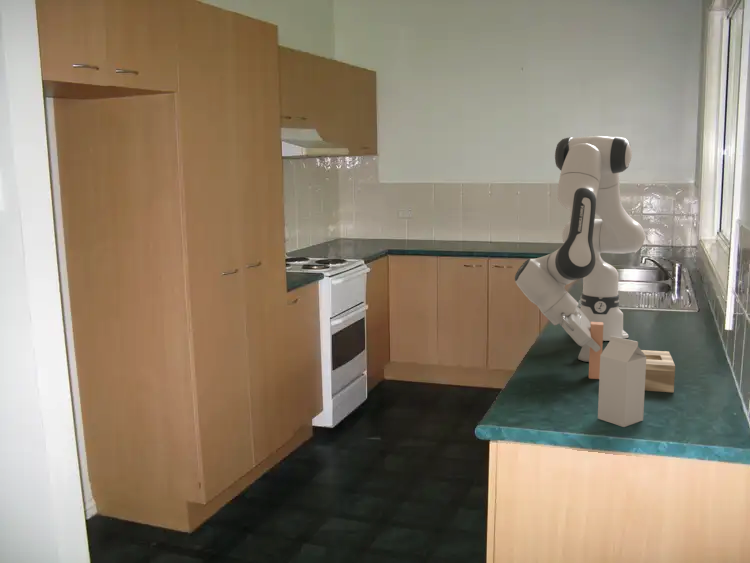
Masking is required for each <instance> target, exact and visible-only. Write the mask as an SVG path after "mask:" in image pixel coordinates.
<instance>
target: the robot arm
mask: <svg viewBox="0 0 750 563" xmlns="http://www.w3.org/2000/svg"><path fill="white" fill-rule="evenodd" d="M632 157H633V150H632V147H631V143H630V142H629V141H628V139H627V138H625V137H621V136H604V135H592V136H579V137H572V136H571V137H565V138H562V139H561V140H559V142H558V143H557V144H556V147H555V150H554V159H555V160H554V161H555V166H556V167H557V168H558V169H559V171H560V175H559V179H558V184H557V200H558V202H559V203H560V205H561V206H562V207H563V208H565V209H567V210H569V211H570V217H569V221H568V222H567V223H566V224H565V225H564V226H563V229H562V233H561V237H562V242H563V243H562V245H561V246H560V247H559V248H558V249H557V250H554V251H553V252H551V253H549V254H547V255H543V256H541V257H540V256H539V257H537V258H536V257H535V258H528V259H526V260H525V261H524V262H523V263H522V264H521V265H520V267H519V268H518V269H517V271H516V272H515V275H514V281H515V284H516V285H517V287H518V288H519V290H520V291H521V292H522V293H523V294H524V296H525V297H526V298H527V299H528V300H529V301H530V302H531V303H532V304H534V305H536V307H538V309H539V310H540V312H541V313H542V315H543V316H545V318H546V319H547V320H549V321H550V322H551V324H552V325H553V326H558V325H560V327H562V328H563V330H564V331H565V332H566V334H567V335H569V336H570V338H571V339H572V340H573V341H574V342H575V343H576V345H578V346H580V347H581V348H582V347H583V345H585V344H587V345H588V346H589V347H591V348H592V349H593V350H594V351H595V352H597V351H599V350H600V345H599V344H598V343H597V342H595V341H594V340H593V339H592V337H591V330H590V326H591V322H603V342H604V341H605V342H607V341H609V342H610V336H614V337H619V338H623V339H628V338H629V334H628V333H627V332H626V331H625V330H624V312H622V310H621V309H620V308H619V306H620V295H619V277H620V276H619V275H620V274H619V272H618V270H617V269H616V267H615V266H613V265H611V264H610V263H608V262H606V261H604V259H603V258H602V257H601V254H630V253H636V252H638V251H639V250H640V249H641V248H642V247H643V245H644V243H645V238H646V235H645V234H646V233H645V230H644V228H643V226H642V225H641V224H640V222H638V221H636V220H635V219H634V218H633V217H631V215H629V214H628V212H627V211H626V210H625V208H624V206H623V203H622V199H621V191H620V190H621V189H620V173H622V172H625V171H626V170H627V169H628V168H629V166H630V164H631V161H632ZM596 216H597V217H599V218H596ZM580 279H582V285H583V287H582V288H583V289H582V293H581V297H580V303H581V306H580V307H579V302H578V301H577V300H576V299H575V297H573V296H572V295H571V294H570V293H569V292H568V291H567V290H566V288H565V287H566V286H567V285H569V284H571V283H574V282H575V281H577V280H580Z"/></svg>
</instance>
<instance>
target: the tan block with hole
mask: <svg viewBox="0 0 750 563" xmlns="http://www.w3.org/2000/svg"><path fill="white" fill-rule="evenodd" d="M640 350H641V351H642V352H643V353H644V355H645V356H646V375H645V391H646V392H647V391H648V392H663V393H665V392H666V393H674V391H675V376H676V374H675V373H676V365H675V362H674V360H673V357H672V355H671V353H670V351H666V350H664V351H662V350H648V349H647V350H645V349H640Z"/></svg>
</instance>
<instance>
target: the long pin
mask: <svg viewBox="0 0 750 563" xmlns="http://www.w3.org/2000/svg"><path fill="white" fill-rule="evenodd" d="M590 330H591V337H592V339H593V340H594V341H595V342H597V343H598V344H599V345H600V350H599V351H597V352H595V351H594V350H593V349H592V348H591V347H590V353H589V362H588V379H591V380H599V376H600V355H601V354H602V352H603V347H604V346H603V342H604V341H603V322H591V328H590Z"/></svg>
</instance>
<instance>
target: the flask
mask: <svg viewBox="0 0 750 563" xmlns="http://www.w3.org/2000/svg"><path fill="white" fill-rule="evenodd" d="M590 328H591V326H590ZM589 353H590V347H589V346H588V345H587V344H585V345H583V346H582V347H581V349H580V352H579V354H578V357H577V359H578V360H580V361H583V362H588V363H589Z"/></svg>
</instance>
